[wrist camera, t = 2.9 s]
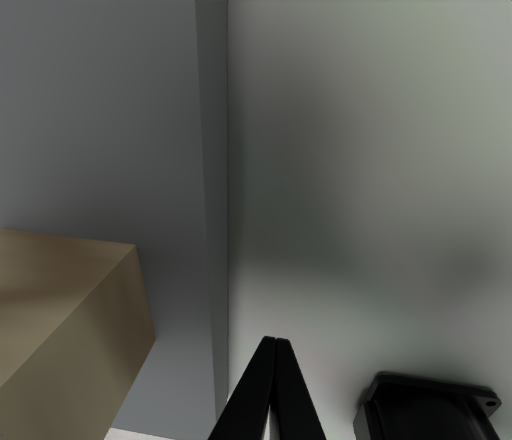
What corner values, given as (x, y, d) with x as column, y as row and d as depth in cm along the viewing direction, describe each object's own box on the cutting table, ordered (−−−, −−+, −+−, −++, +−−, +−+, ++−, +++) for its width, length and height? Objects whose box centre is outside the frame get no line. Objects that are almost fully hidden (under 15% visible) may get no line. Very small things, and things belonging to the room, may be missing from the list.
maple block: (135, 244, 9) (-21, 409, 4) (155, 339, 11) (68, 506, 7) (1, 228, 9) (-260, 364, 5) (49, 323, 12) (-97, 470, 7)
